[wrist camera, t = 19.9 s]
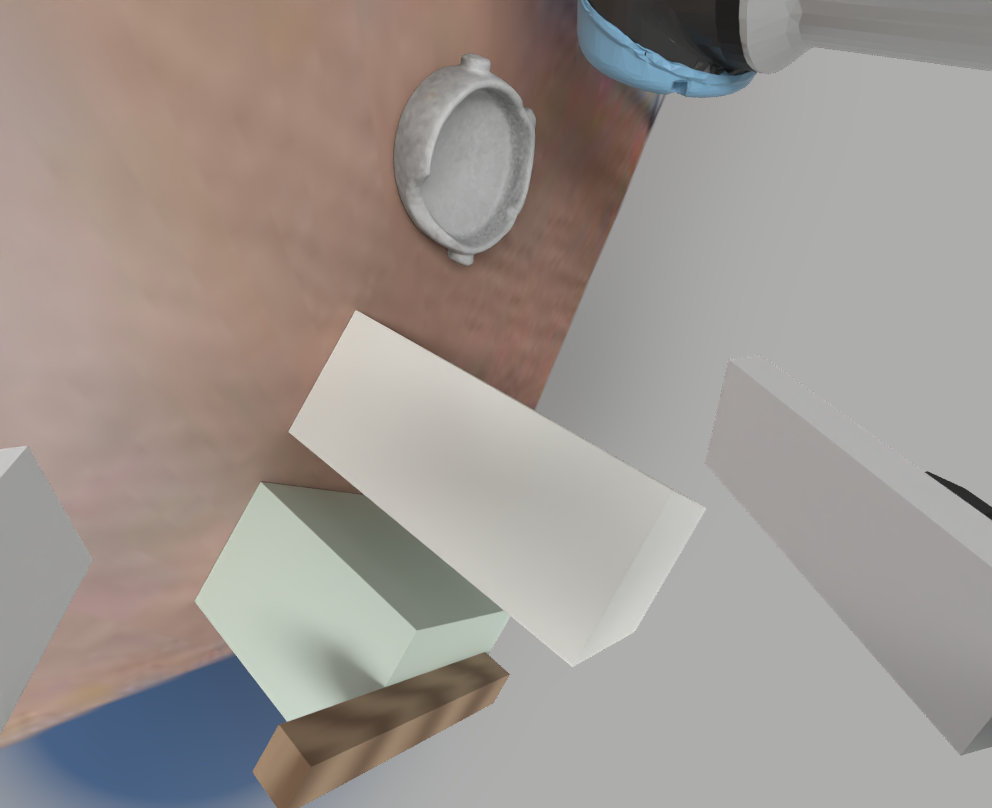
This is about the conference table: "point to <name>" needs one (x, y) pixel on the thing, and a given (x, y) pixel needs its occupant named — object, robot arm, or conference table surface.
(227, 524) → the conference table surface
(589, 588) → the off-white rectangular block
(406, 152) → the dish
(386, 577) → the low stand
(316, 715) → the walnut bar
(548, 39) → the conference table surface
